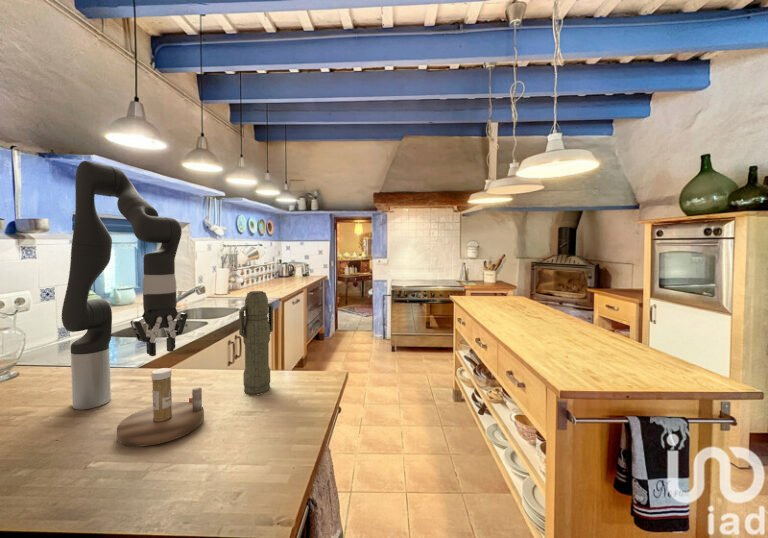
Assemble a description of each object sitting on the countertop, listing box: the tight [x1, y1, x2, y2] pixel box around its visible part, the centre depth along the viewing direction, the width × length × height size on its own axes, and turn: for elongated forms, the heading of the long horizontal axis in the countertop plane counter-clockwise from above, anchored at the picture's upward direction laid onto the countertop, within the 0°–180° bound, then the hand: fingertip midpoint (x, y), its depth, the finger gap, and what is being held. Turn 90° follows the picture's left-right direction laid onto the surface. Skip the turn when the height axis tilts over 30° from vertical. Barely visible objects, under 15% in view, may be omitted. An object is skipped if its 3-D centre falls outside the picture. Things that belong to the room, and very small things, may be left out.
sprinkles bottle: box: [151, 367, 173, 422], centre depth 93 cm, size 5×5×14 cm
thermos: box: [238, 290, 274, 396], centre depth 119 cm, size 9×12×35 cm
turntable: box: [116, 386, 205, 447], centre depth 93 cm, size 20×20×8 cm
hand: (161, 353), depth 92 cm, fingers open, 4 cm apart
